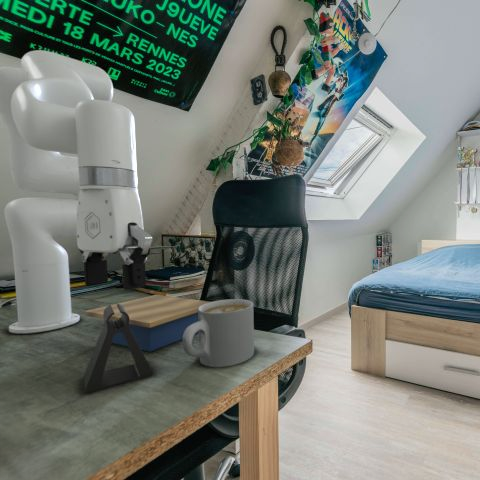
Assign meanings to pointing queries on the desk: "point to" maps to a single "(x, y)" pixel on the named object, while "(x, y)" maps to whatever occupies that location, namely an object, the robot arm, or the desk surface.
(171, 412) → the desk surface
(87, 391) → the phone stand
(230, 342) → the coffee mug
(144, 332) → the blue box
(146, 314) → the oak board
